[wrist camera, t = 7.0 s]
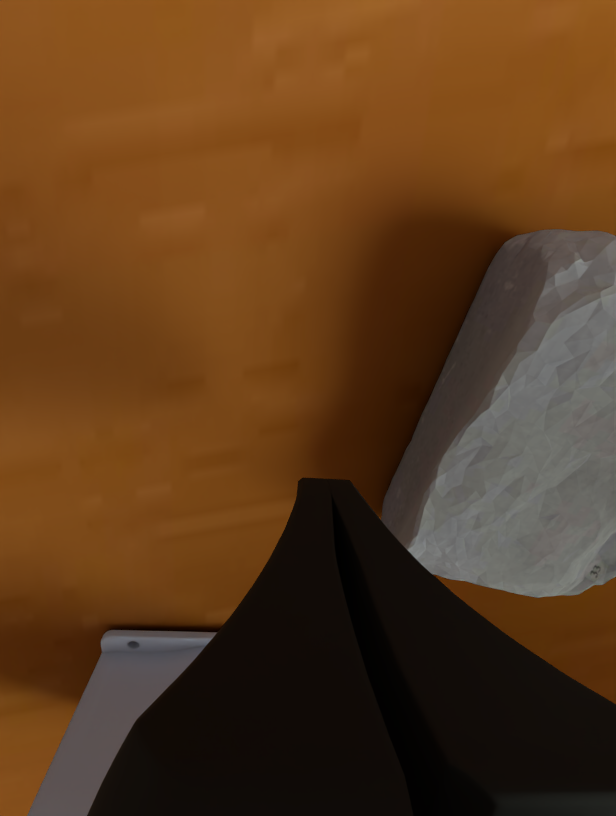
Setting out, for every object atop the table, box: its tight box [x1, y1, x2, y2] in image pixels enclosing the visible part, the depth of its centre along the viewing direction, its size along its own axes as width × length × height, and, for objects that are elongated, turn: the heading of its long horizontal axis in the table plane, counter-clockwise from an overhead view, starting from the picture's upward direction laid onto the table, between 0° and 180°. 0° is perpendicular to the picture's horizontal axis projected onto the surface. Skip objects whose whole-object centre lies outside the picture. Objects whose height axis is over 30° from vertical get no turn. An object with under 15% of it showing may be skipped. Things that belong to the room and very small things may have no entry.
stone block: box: [381, 229, 616, 598], centre depth 13 cm, size 12×5×10 cm
